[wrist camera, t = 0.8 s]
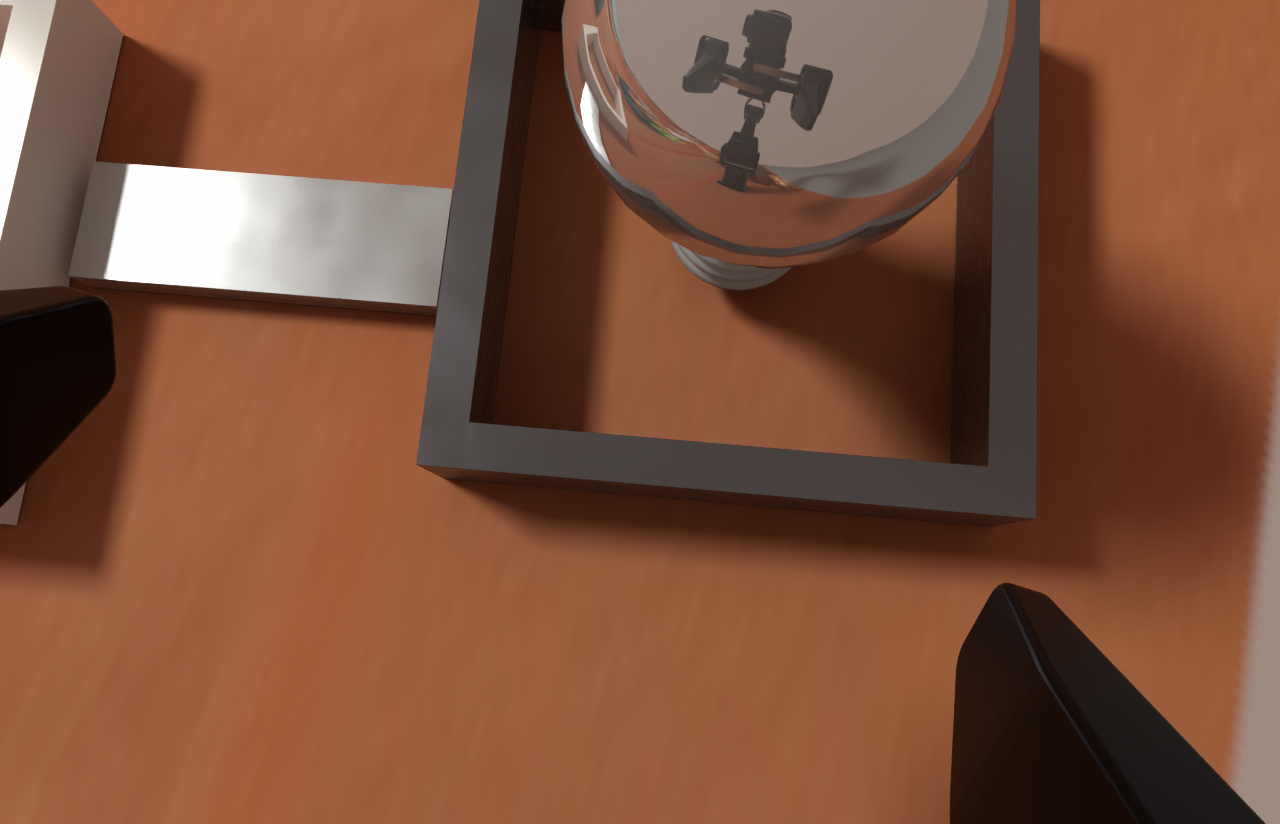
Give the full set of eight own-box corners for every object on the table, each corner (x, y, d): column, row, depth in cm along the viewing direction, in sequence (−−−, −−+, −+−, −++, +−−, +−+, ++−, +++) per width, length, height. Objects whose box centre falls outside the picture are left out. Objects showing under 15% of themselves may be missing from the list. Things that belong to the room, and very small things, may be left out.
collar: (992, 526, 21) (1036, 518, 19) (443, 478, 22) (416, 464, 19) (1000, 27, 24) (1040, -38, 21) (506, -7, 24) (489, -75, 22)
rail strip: (444, 316, 22) (436, 306, 22) (88, 286, 23) (68, 276, 22) (459, 202, 23) (452, 189, 22) (112, 175, 23) (93, 160, 23)
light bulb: (806, 77, 24) (958, -433, 12) (920, 317, 22) (1219, 14, 10) (555, 171, 23) (453, -259, 11) (656, 421, 22) (659, 227, 10)
